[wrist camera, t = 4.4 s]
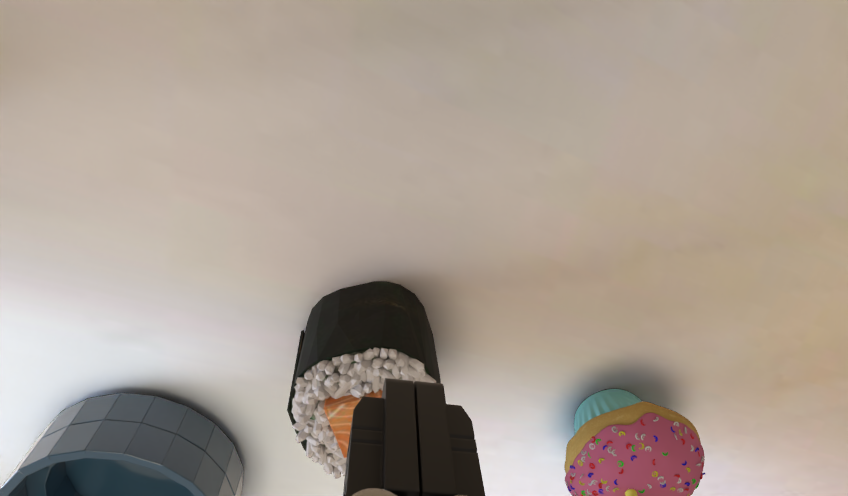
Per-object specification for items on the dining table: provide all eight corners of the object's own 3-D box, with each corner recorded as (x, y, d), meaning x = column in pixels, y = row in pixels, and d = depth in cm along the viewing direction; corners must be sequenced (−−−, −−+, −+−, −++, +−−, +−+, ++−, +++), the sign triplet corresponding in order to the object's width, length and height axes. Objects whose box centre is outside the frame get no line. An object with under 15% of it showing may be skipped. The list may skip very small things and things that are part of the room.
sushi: (330, 405, 38) (317, 504, 31) (287, 299, 35) (262, 384, 28) (448, 377, 38) (463, 471, 31) (417, 268, 34) (426, 345, 27)
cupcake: (538, 458, 41) (591, 629, 31) (559, 361, 38) (628, 516, 27) (653, 460, 42) (744, 628, 31) (685, 365, 39) (801, 518, 28)
